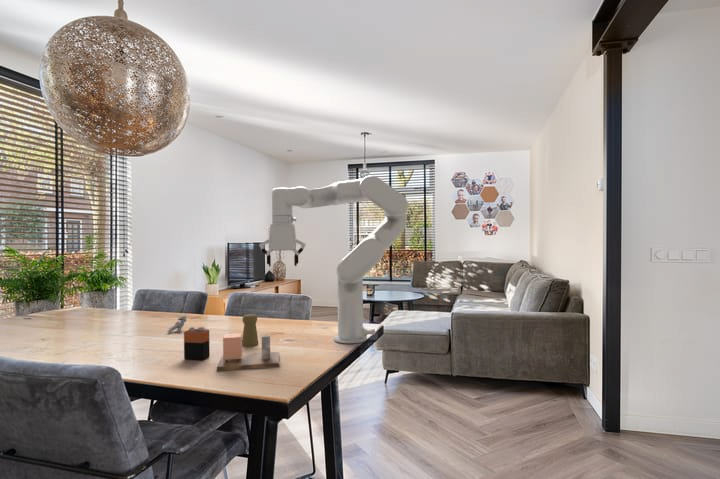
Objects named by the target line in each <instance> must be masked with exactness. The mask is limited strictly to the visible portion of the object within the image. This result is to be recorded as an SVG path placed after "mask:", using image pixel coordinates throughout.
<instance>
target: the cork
mask: <svg viewBox="0 0 720 479" xmlns="http://www.w3.org/2000/svg"><path fill="white" fill-rule="evenodd" d="M257 322H258V316H257V314H253V313H248V314H244V315H243V317H242V323H243V332H242V347H245V348H246V347H248V348H249V347H256V346H258V345H259V337H258V330H257V324H256V323H257Z"/></svg>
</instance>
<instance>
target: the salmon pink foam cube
mask: <svg viewBox="0 0 720 479" xmlns="http://www.w3.org/2000/svg"><path fill="white" fill-rule="evenodd" d="M242 338H243V332H241V333H237V332H236V333H224V336H223V338H222V356H223V360H229V359H241V357H242V354H243V346H242Z"/></svg>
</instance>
